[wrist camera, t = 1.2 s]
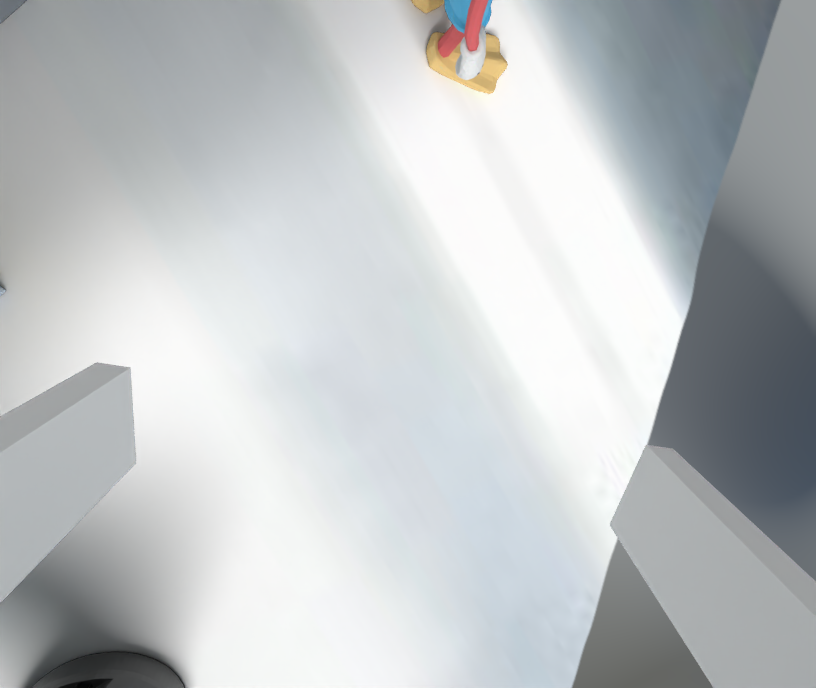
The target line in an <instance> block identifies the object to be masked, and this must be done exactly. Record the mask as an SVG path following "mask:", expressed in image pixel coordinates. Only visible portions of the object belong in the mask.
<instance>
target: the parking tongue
mask: <svg viewBox="0 0 816 688" xmlns="http://www.w3.org/2000/svg"><path fill="white" fill-rule="evenodd" d="M5 291H6V290H5V289H3V288H2V287H1V286H0V296H1V295H2V294H3V293H4V292H5Z"/></svg>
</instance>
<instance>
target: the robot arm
mask: <svg viewBox="0 0 816 688" xmlns="http://www.w3.org/2000/svg"><path fill="white" fill-rule="evenodd" d="M135 464H136V453H135V436H134V420H133V403H132V386H131V369H130V367H123V366H116V365H110V364H103V363H95V364H93V365H91V366H90V367H88V368H86V369H84V370H82V371H81V372H79V373H77V374H75V375H74V376H72V377H70V378H68V379H66V380H65V381H63V382H61V383H59V384H58V385H56V386H54V387H52V388H50V389H49V390H47V391H45V392H43V393H42V394H40V395H38V396H36V397H35V398H33V399H31V400H29V401H27V402H26V403H24V404H22V405H20V406H19V407H17V408H15V409H13V410H11V411H10V412H8V413H6V414H4V415H3V416H1V417H0V603H1V602H2V601H3V600H4V599H5V598H6V597H7V596H8V595H9V594H10V593H11V592H12V591H13V590H14V589H15V588H16V587H17V586H18V584H19V583H20V582H21V581H22V580H23V579H24V578H25V577H26V576H27V575H28V574H29V573H30V572H31V571H32V570H33V569H34V568H35V567H36V566H37V565H38V564H39V563H40V562H41V561H42V560H43V559H44V558H45V557H46V556H47V555H48V554H49V552H50V551H51V550H52V549H53V548H54V547H55V546H56V545H57V544H58V543H59V542H60V541H61V540H62V539H63V538H64V537H65V536H66V535H67V534H68V533H69V532H70V531H71V530H72V529H73V528H74V527H75V526H76V525H77V524H78V523H79V522H80V520H81V519H82V518H83V517H84V516H85V515H86V514H87V513H88V512H89V511H90V510H91V509H92V508H93V507H94V506H95V505H96V504H97V503H98V502H99V501H100V500H101V499H102V498H103V497H104V496H105V495H106V494H107V493H108V492H109V491H110V489H111V488H112V487H113V486H114V485H115V484H116V483H117V482H118V481H119V480H120V479H121V478H122V477H123V476H124V475H125V474H126V473H127V472H128V471H129V470H130V469H131V468H132V467H133V466H134V465H135ZM610 526H611V528H612V529H613V531H614V533H615V534H616V536H617V537H618V539H619V540H620V542H621V544H622V545H623V547H624V548H625V550H626V551H627V553H628V554H629V556H630V558H631V559H632V561H633V562H634V564H635V565H636V567H637V568H638V570H639V572H640V573H641V575H642V576H643V578H644V579H645V581H646V583H647V584H648V586H649V587H650V589H651V590H652V592H653V594H654V595H655V597H656V598H657V600H658V601H659V603H660V605H661V606H662V608H663V609H664V611H665V612H666V614H667V616H668V617H669V619H670V620H671V622H672V623H673V625H674V627H675V628H676V630H677V631H678V633H679V634H680V636H681V638H682V639H683V640H684V642H685V644H686V645H687V647H688V648H689V650H690V651H691V653H692V655H693V656H694V658H695V659H696V661H697V663H698V664H699V666H700V667H701V669H702V670H703V672H704V674H705V675H706V677H707V678H708V680H709V681H710V683H711V684H712V686H713V687H714V688H816V582H815V581H814V580H813V579H812V578H811V577H810V576H809V575H808V574H807V573H806V572H805V571H803V569H801V568H800V567H799V566H798V565H797V564H796V563H795V562H794V561H793V560H792V559H791V558H790V557H789V556H788V555H786V554H785V553H784V552H783V551H782V550H781V549H780V548H779V547H778V546H777V545H776V544H775V543H774V542H772V541H771V540H770V539H769V538H768V537H767V536H766V535H765V534H764V533H763V532H761V530H760V529H758V528H757V527H756V526H755V525H754V524H753V523H752V522H751V521H750V520H749V519H748V518H747V517H746V516H745V515H743V514H742V513H741V512H740V511H739V510H738V509H737V508H736V507H735V506H734V505H733V504H732V503H731V502H729V501H728V500H727V499H726V498H725V497H724V496H723V495H722V494H721V493H720V492H719V491H718V490H717V489H715V488H714V487H713V486H712V485H711V484H710V483H709V482H708V481H707V480H706V479H705V478H703V476H701V475H700V474H699V473H698V472H697V471H696V470H695V469H694V468H693V467H692V466H690V464H689V463H688V462H686V461H685V460H684V459H683V458H682V457H681V456H680V455H679V454H678V453H677V452H676V451H674V449H671V448H664V447H657V446H651V445H646V446H645V448H644V450H643V453H642V455H641V457H640V459H639V461H638V464H637V466H636V468H635V470H634V472H633V474H632V477H631V479H630V481H629V483H628V485H627V488H626V490H625V492H624V494H623V496H622V499H621V501H620V503H619V505H618V507H617V510H616V512H615V514H614V516H613V518H612V521H611V523H610ZM32 688H184V686H183V684H182V682H181V681H180V679H179V678H178V676H177V675H176V674H175V673H174V672H173V671H172V670H171V669H169V668H168V667H167V666H165V665H164V664H162V663H160V662H158V661H157V660H154V659H152V658H149V657H146V656H143V655H139V654H134V653H125V652H107V653H99V654H93V655H88V656H85V657H81V658H78V659H75V660H72V661H70V662H68V663H65V664H63V665H61V666H59V667H58V668H56V669H54V670H53V671H51V672H49V673H48V674H47V675H45V676H44V677H43V678H41V679H40V680H39V681H38V682H37V683H36V684H35V685H34V686H33V687H32Z"/></svg>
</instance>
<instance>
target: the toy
mask: <svg viewBox="0 0 816 688" xmlns="http://www.w3.org/2000/svg"><path fill="white" fill-rule="evenodd" d="M411 1H412V3H413V4H414V5H415V6H416V7H417V8H418V9H420V10H421V11H422V12H423V13H428V12H430V11H432V10H434V9H436V8H438V7H440V6H441V5H443V4H445V10H446V13H447V16H448V18H449V20H450V21H451V22H452V25H451V27H450V28H449V29H448V30H447V31H446V32H445V33H439V32H435V33H433V34H432V35H431V37H430V40H429V42H428V45H427V50H426V54H427V59H428V63H429V67H430V68H431V69H433V70H435V71H436V72H438V73H439V74H441V75H443V76H446V77H448V78H450V79H452V80H454V81H457V82H459V83H461V84H463V85H465V86H467V87H470V88H472V89H474V90H477V91H481V92H484V93H488V94H491V93H493V92H494V90H495V87H496V82H497V80H498V78H499V77H500V76H501V74H502V73H503V72H504V71H505V69H506V68H507V65H508V64H507V61H506V60H505V59H504V58H503V57H502V55H501V53H500V42H499V39H498V38H497V37H496V36H494V35H490V34H486V32H485V27H486V25H487V23H488V22H489V19H490V16H491V3H492V0H411Z"/></svg>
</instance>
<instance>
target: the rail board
mask: <svg viewBox="0 0 816 688" xmlns="http://www.w3.org/2000/svg"><path fill="white" fill-rule="evenodd" d="M25 1H27V0H0V24H1V23H2V22H3V21H4V20H5V19H6V18H7V17H9V16H10V15H11V14H12V13H13V12H14V11H15V10H16V9H18V8H19V7H20V6H21V5H22V4H23V3H24V2H25Z"/></svg>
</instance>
